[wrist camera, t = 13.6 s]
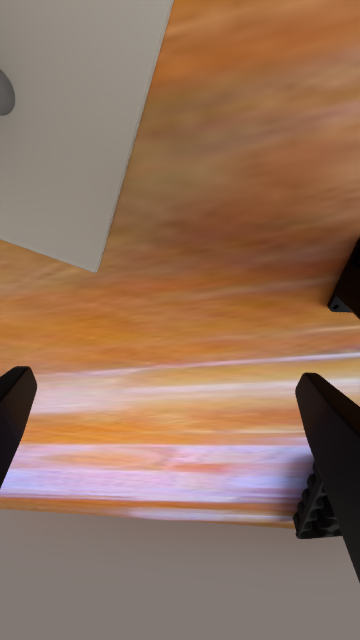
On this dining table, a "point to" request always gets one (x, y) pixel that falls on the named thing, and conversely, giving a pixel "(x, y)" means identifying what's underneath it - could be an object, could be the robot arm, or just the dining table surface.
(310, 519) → the black muffin pan
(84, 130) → the peg plate
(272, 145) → the dining table surface
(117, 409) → the dining table surface
